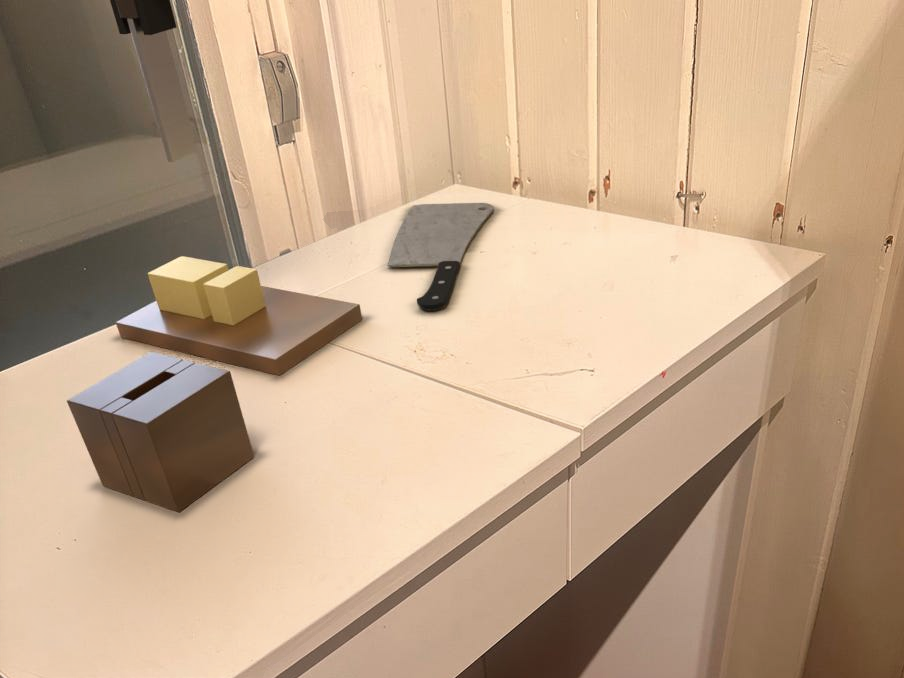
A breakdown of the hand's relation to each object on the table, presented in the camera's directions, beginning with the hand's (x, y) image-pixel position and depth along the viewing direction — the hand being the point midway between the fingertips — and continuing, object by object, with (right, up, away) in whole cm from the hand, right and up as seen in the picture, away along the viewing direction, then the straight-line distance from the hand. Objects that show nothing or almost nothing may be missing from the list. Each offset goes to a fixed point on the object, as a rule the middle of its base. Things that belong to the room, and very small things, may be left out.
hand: (148, 30), depth 70 cm
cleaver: (+20, -6, +26) cm, 34 cm away
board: (+3, -18, +16) cm, 24 cm away
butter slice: (+3, -17, +15) cm, 22 cm away
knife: (+1, -7, +6) cm, 9 cm away
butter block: (-1, -15, +17) cm, 23 cm away
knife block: (+3, -34, -2) cm, 35 cm away
